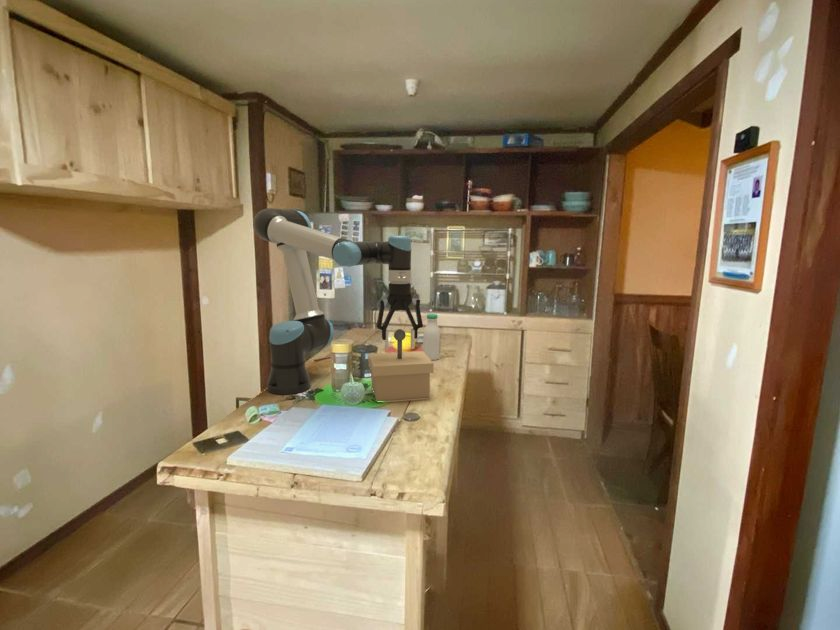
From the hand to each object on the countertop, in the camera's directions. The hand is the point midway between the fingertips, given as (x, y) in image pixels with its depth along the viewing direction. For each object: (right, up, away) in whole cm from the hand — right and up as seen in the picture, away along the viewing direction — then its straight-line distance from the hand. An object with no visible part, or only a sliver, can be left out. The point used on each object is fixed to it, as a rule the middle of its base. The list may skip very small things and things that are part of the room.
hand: (399, 348), depth 152 cm
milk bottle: (+12, -8, +48) cm, 50 cm away
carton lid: (0, -7, +1) cm, 7 cm away
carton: (0, -16, +3) cm, 16 cm away
